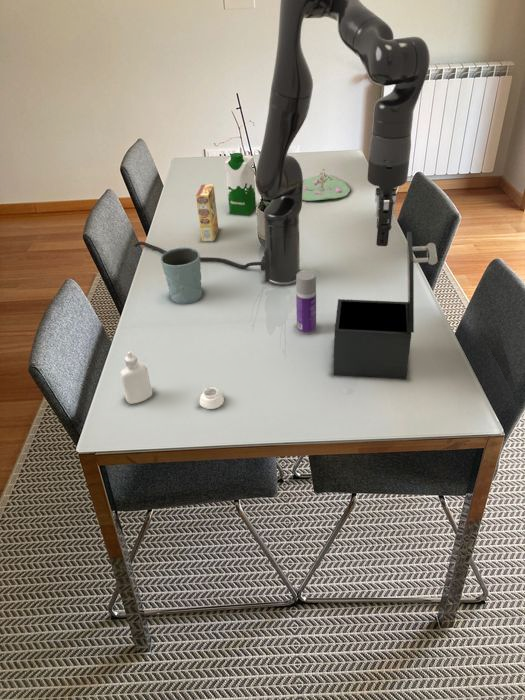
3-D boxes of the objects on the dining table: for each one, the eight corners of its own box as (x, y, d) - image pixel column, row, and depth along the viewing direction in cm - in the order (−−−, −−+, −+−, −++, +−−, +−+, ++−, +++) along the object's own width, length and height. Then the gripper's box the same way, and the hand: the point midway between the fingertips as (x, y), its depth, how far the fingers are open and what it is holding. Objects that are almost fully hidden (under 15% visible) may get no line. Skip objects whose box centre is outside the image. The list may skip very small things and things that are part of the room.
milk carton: (226, 214, 204) (221, 156, 193) (236, 204, 211) (231, 147, 199) (250, 217, 202) (246, 158, 190) (259, 206, 209) (256, 148, 197)
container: (314, 335, 144) (314, 280, 135) (295, 333, 145) (294, 279, 136) (317, 324, 148) (317, 270, 139) (298, 323, 149) (297, 269, 140)
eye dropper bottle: (127, 391, 131) (117, 347, 123) (153, 389, 131) (144, 345, 123) (125, 404, 127) (113, 359, 120) (151, 403, 127) (141, 358, 120)
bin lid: (409, 260, 113) (439, 259, 111) (407, 231, 123) (434, 230, 121) (409, 332, 122) (437, 332, 121) (407, 300, 132) (433, 299, 131)
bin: (333, 375, 132) (334, 330, 125) (336, 341, 142) (338, 299, 135) (406, 379, 129) (411, 334, 122) (404, 345, 139) (409, 302, 132)
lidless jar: (228, 402, 126) (214, 391, 129) (227, 391, 124) (212, 380, 127) (209, 413, 123) (195, 402, 127) (208, 403, 122) (193, 391, 125)
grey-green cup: (211, 290, 164) (206, 250, 157) (192, 308, 157) (187, 268, 150) (179, 283, 168) (173, 244, 161) (160, 301, 160) (152, 261, 153)
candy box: (214, 241, 188) (209, 195, 179) (201, 241, 188) (195, 195, 179) (219, 229, 195) (214, 184, 186) (206, 229, 196) (201, 184, 187)
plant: (290, 178, 229) (289, 155, 223) (344, 175, 228) (345, 152, 223) (294, 204, 208) (294, 179, 203) (354, 201, 208) (355, 176, 203)
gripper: (369, 143, 119) (364, 219, 128) (368, 170, 107) (362, 251, 117) (408, 144, 117) (399, 221, 127) (411, 171, 106) (401, 253, 116)
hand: (381, 235), depth 122 cm, fingers open, 8 cm apart
